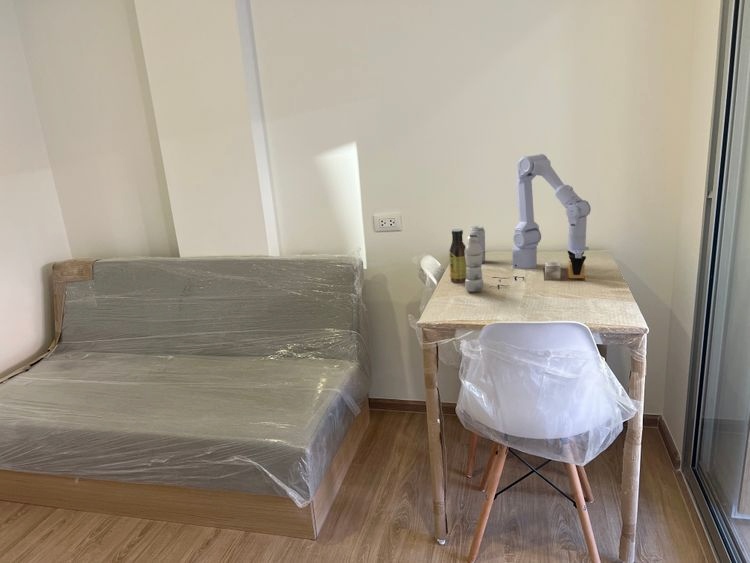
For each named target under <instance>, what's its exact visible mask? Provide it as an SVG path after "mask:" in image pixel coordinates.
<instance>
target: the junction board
mask: <svg viewBox="0 0 750 563" xmlns="http://www.w3.org/2000/svg"><path fill="white" fill-rule="evenodd" d="M542 271H543V280H544V281H550V282H551V281H552V282H554V281H555V282H556V281H557V282H565V281H566V282H586V278H585V276H584V278H569V276H568V267H561V263H560V262H559V261H557V262H556V261H555V262H554V261H552V262H551V261H549V262H547V261H546V262H545V266H544V267H543V268H542Z"/></svg>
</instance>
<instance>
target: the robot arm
mask: <svg viewBox="0 0 750 563" xmlns="http://www.w3.org/2000/svg"><path fill="white" fill-rule="evenodd" d="M551 165H552V164H551V160H550V159H549V158H548V157H547V155H546V154H544V153H539V154H534V155H528V156H527V155H525V156H522V157H521V158H520V159H519V161H518V162H517V163H516V166H517V173H516V175H515V176H516V190H517V206H518V220H519V223H518V224H517V225H516V226H515V228H514V233H513V237H512V240H513V242H514V245H515V246H513V247H512V260H511V265H512V269H524V270H525V269H527V270H528V269H530V270H531V269H534V268H537V265H538V264H537V261H538V260H537V259H538V257H537V254H538V252H537V250H538V248H537V247H538V246H539V243H540V242H541V239H542V233H541V231H540V226H539V224H538V223H537V222H536V221H535V216H534V215H535V214H534V198H533V183H532V182H533V180H534V178H536V176H538V177H539V176H540V177H542V178H543V179H544V180H545V181H546V182H547V183H548V184H549V185H550V187H552V188H553V190H555V195H554V196H555V198H556V199H558V200H559V203H561V205H562V206H563V207H564V208H565V209H566V210H565V215H566V217H567V218H568V219H567V222H568V246H567V253H568V259H569V261H571V263H572V270H573V274H574V275H580V273H581V269H582V265H583V263H584V264H585V261H586V259H587V256H586V255H585V256H584V253H585V251H589V250H590V247H589V246H586V241H587V239H586V238H587V216H589V215H590V213H591V205H590V203H589V201H587V200H585V199H582V198H581V197H580V196H578V194H577V193H576V192H575V191H574V187H573V186H571V185H569V184H564V182H563V181H562V180H561V178H560V176H559V175H558V174H557V173H556V171H555V169H554V168H553V167H552V166H551Z"/></svg>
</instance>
